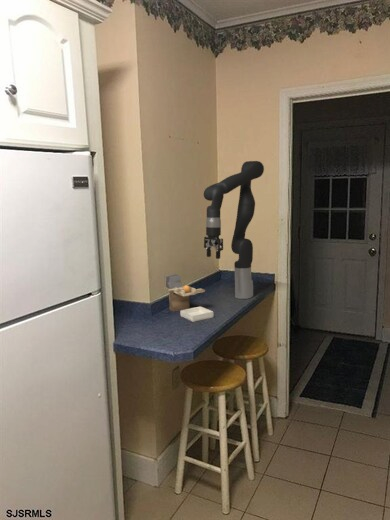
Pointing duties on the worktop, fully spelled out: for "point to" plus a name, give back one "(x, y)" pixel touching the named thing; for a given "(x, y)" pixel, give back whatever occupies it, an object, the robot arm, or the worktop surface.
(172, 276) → the lever
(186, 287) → the ball
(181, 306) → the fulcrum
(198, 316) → the dish
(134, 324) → the worktop surface
